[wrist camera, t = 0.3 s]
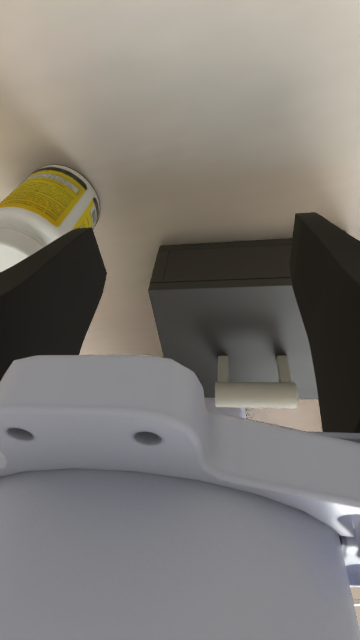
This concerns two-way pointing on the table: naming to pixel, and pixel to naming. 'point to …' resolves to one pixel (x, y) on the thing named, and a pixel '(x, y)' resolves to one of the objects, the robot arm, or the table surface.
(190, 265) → the dark grey lipped box
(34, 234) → the supplement bottle
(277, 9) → the table surface
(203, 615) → the robot arm
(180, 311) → the lid
